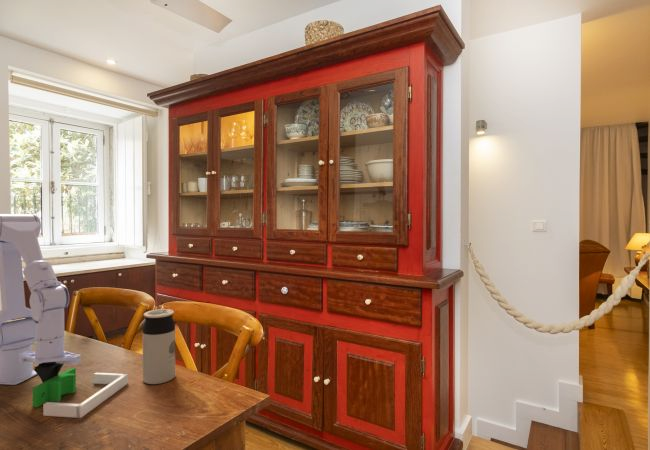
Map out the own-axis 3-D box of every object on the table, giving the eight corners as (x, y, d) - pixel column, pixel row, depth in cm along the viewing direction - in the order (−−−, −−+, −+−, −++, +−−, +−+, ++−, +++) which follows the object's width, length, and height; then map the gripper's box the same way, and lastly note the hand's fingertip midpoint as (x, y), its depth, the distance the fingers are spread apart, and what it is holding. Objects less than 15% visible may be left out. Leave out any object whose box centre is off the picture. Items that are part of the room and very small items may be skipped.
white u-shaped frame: (43, 415, 81) (43, 404, 81) (96, 381, 98) (96, 372, 98) (80, 417, 81) (80, 406, 81) (127, 383, 97) (127, 374, 97)
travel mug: (135, 383, 97) (135, 315, 97) (156, 370, 105) (156, 307, 105) (162, 386, 96) (162, 317, 95) (181, 374, 103) (181, 309, 103)
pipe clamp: (47, 409, 84) (47, 389, 84) (32, 407, 85) (32, 387, 85) (84, 386, 96) (84, 368, 95) (71, 384, 96) (71, 367, 96)
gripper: (6, 340, 86) (7, 398, 87) (64, 343, 85) (65, 402, 86) (33, 331, 93) (33, 384, 94) (87, 333, 92) (87, 387, 93)
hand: (50, 392), depth 90 cm, fingers closed, pressing on pipe clamp
